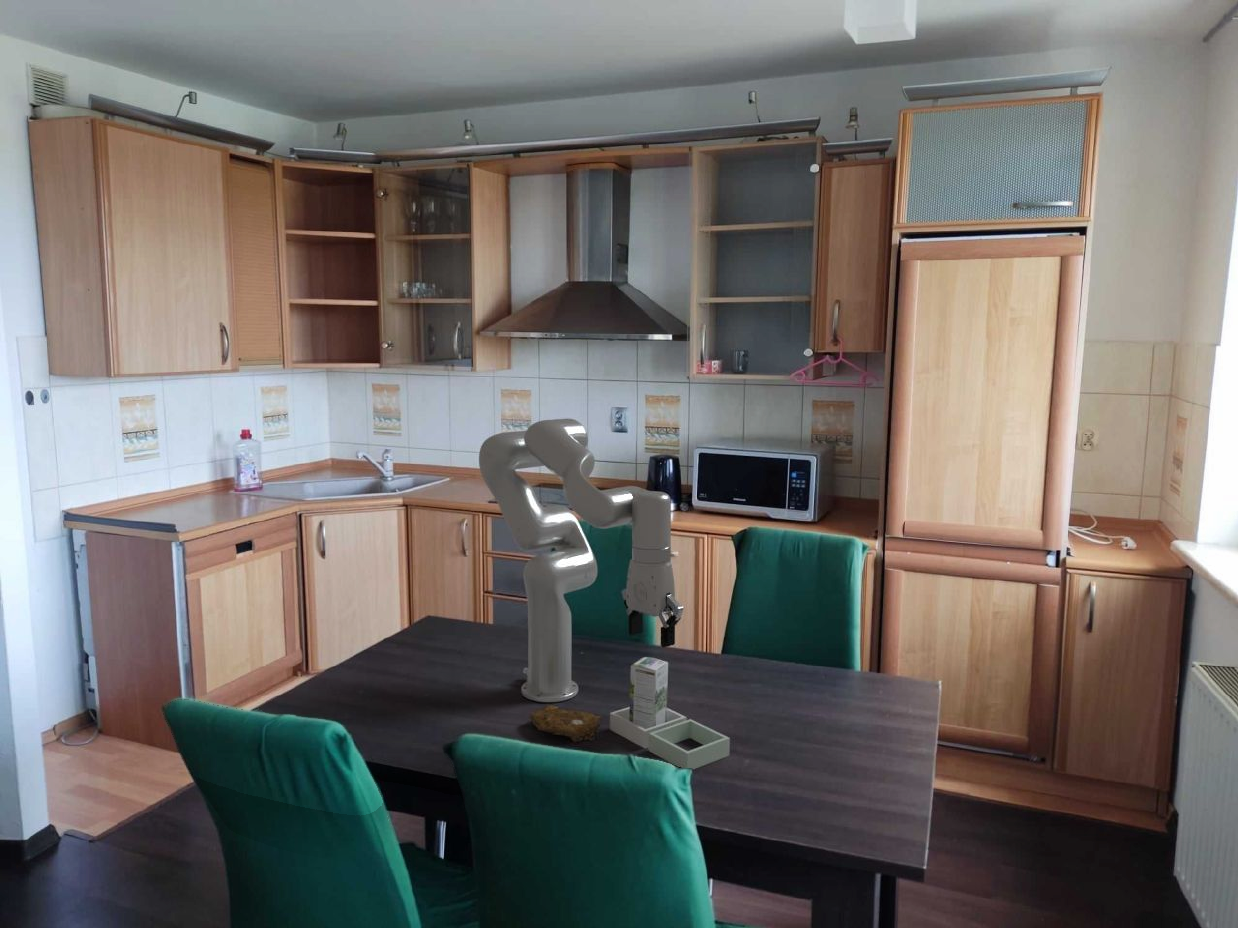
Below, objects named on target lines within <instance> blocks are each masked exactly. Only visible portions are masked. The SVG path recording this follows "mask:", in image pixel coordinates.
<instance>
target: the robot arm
mask: <svg viewBox="0 0 1238 928" xmlns="http://www.w3.org/2000/svg"><path fill="white" fill-rule="evenodd" d="M588 445H589V435H588V432H587V430H586V428H585V426H584V425H583V424H582V423H581V422H579V421H578V420H576V419H573V418H555V419H543V420H540V421H539V420H538V421H536V422H534V423H532V424H531V425H530V426H529V427H528V428H527V430H519V431H508V432H507V431H506V432H500V433H496V434H493V435H491V436H489V437H488V438H486V439H485V440H484V441H483V443H482V444H481V446H480V448H479V454H478V466H479V470H480V474H481V476H482V479H483V482H484V483H485V484H486V486H487V489H489V491H490V494H492V496H493V497H494V499H495V501H496V502H497V505H498V507H499V510H500V512H501V515H502V516H503V519H504V521H505V523H506V525H507V528H508V530H509V533H510V535H511V537H512V539H513V541H514V543H515V545H516V546H517V548H518V549H519V550H520V551H522V552H525V553H533V552H539V551H544V550H549V549H553V548H554V550H553V551H548V552H544V553H540V554H538V555H536V556H533V557H531V558H530V560H528V561H527V563H526V564H525V566H524V568H523V575H522V576H523V582H524V589H525V593H526V601H527V625H528V630H527V631H528V632H527V633H528V637H527V638H528V641H527V643H528V644H527V646H528V648H527V649H528V653H527V655H528V656H527V657H528V658H527V659H528V662H527V663H528V666H527V667H524V668H523V670H522V672H523V674H525V675H527V678H526V682H524V683H523V684H522V686H521V687H520V688H521V694H522V696H523V697H525V698H526V699H528V700H531V701H533V702H534V701H535V702H539V703H558V702H563V701H568V700H569V699H572V698H574V697H575V696H576V695H577V694H578V693H579V685H578V683H576V682H575V681H574V680H572V612H571V609H570V607H569V605H568V603H567V601H566V599H565V595H564V594H568V593H571V592H574V591H575V592H576V591H578V590H581V589H585V588H587V587H590V586H591V585H593V584H594V582H596V580H597V577H598V571H599V570H598V564H597V563H598V562H597V560H596V556H595V554H594V552H593V549H592V548H591V546H590V543H589V541H588V539H587V537H586V534H585V532H584V530H583V528H582V525H581V524H580V521H579V519H578V517H577V516H576V515H578V516H579V517H580V518H581V519H582V520H583V521H585V523H587V524H589V525H590V526H593V527H594V528H597V529H603V530H604V529H610V528H615V527H621V526H624V525H625V526H626V525H631V526H632V528H631V532H632V533H631V534H632V535H631V537H632V538H631V539H632V541H631V542H632V543H631V545H632V548H631V551H632V552H631V553H632V554H631V555H632V558H631V559H630V560H629V565H628V569H627V570H628V571H627V577H626V588H624V589H622V590H621V595H622V598H623V604H624V606H625V609H626V614H627V616H628V635H629V636H635V635H639V634H642V633H643V627H644V624H643V621H644V619H643V617H644V616H643V615H647V616H650V617H653V618H655V617H658V618H659V621H660V622H661V624H662V626H661V627H660V647H661V648H667V647H670V646H674V645H675V644H676V626H678V623H679V621H680V620H681V618H682V615H683V613H684V606H682V604H681V603H680V602H679V601H678V600H677V599H676V590H675V589H676V587H675V586H676V585H675V579H674V578H675V577H674V571H673V564H672V563H671V562H672V561H671V560H672V559H671V555H672V554H671V553H672V551H671V550H672V546H671V544H672V543H671V541H672V539H671V538H672V536H671V535H672V534H671V533H672V529H671V528H672V522H671V521H672V509H671V508H672V501H671V497H670V495H669V494H667V493H666V492H663V491H655V490H653V491H652V490H647V489H645V488H642V487H640V486H635V485H629V486H628V485H627V486H621V487H615V488H614V487H613V488H607V489H604V490H600V489H598V487H596V486H595V485H594V484H592V483H591V482H590V481H589V480H588V478H590V475H592V472H593V470H594V468H595V464H596V463H595V462H596V461H595V460H596V459H595V456H594V455H593V453H592V451H590V450H589V449H588V448H587V446H588ZM543 466H544V467H546V468H547V469H548V470H549V471H551V473H553V474H554V475H555V476H556V477H557V478H558V479H559V480H560V481H562V488H563V489H562V490H563V494H564V498H565V500H566V502H567V505H568V506H569V508H568V507H567V506H565V505H561V504H553V505H546V506H543V505H542V504H541V503H540V501H539V500H538V498H537V495H536V493H535V491H534V488H532V486H531V485H530V484H529V482H528V481H527V480H525V478H523V477H522V476H521V475H520V474H518V473H517V472H516V470H521V469H529V468H535V467H536V468H537V467H538V468H539V467H543ZM570 508H571V509H570ZM575 514H576V515H575ZM666 616H667V617H668V618H667V617H666Z"/></svg>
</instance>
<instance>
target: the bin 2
mask: <svg viewBox="0 0 1238 928" xmlns="http://www.w3.org/2000/svg"><path fill="white" fill-rule="evenodd" d="M689 739H692V740H693V741H695V742H698V743H699V744H701V746H698V747H696V748H693V749H690V750H686V749H684V748H682V747H680V746H678V743H680V742H682V741H683V742H684V741H686V740H689ZM730 744H731V738H730V737H728V736H727V735H725V734H723V733H720V732H718V731H716V730H714V729H712V728H710V727H708V726H706V725H703V724H702V723H699V722H697V721H695V720H693V719H692V718H690V719H687V720H686V721H684V722H681V723H678V724H675V725H672V726H669V727H666V728H663V729H660V730H657V731H654V732H651V733H649V747H648V752H650V753H652V754H653V755H655V756H658V757H659V758H661V759H663V760H665V761H666V762H668V763H670V764H672V765H674V766H676V767H678V768H679V767H681V768H692V769H693V770H696V769H698V768H701V767H703V766H706V765H708V764H712V763H714V762H716V761H719V760H721V759H725V758H727V757H729V756H730V748H731V745H730ZM681 768H680V769H681Z"/></svg>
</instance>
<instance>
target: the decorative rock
mask: <svg viewBox="0 0 1238 928" xmlns="http://www.w3.org/2000/svg"><path fill="white" fill-rule="evenodd" d="M601 718H602V716H601V715H595V714H593V713H592V712H588V711H587V712H585V711H579V710H570V709H562V708H559V707H558V706H556V705H555V706H554V705H550V704H549V705H545V706H544V707H542V708H541V709H539V710H538V709H537V710H533V711H531V713H530V714H529V719H530V720H531V721H532V724H533V725H534V727H537V729H538V731H543V732H546V733H548V734H549V733H550V734H552V735H554V736H556V735H558V736H566V737H567V738H569V739H570V740H572V741H573V742H574V741H575V742H574V743H576V742H577V741H579V742H582V741H583V740H584V741H586V740H589V739H593V740H595V739H594V738H596V737H595V736H597V735H598V730H599V729H600V727H601V724H602V723H601V720H600V719H601ZM586 738H587V739H586ZM585 739H586V740H585ZM577 743H578V742H577Z"/></svg>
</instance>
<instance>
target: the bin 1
mask: <svg viewBox="0 0 1238 928" xmlns="http://www.w3.org/2000/svg"><path fill="white" fill-rule="evenodd" d="M629 710H630V706H628V707H624V708H622V709H619V710H616V711H612V712H610V713H609V730H610V731H611V732H613V733H615V734H618V735H619V736H621V737H623V738H625V739H627V740H628V741H629V742H632V743H634V744H635V745H637V746H640V747H641V748H643V749H647V748H649V733H651V732H654V731H657V730H660V729H663V728H666V727H669V726H672V725H675V724H678V723H681V722H684V721H686V720H688V718H687V716H685V715H684V714H683V715H682V714H681V713H679V712H677V711H674V710H673V709H670V708H668V707H667V712H666V722H665V723H662V724H659V725H656V726H654V727H651V728H648V729H644V728H642V727H640V726H638V725H636V724H635V723H633V722H631V721H629Z"/></svg>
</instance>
